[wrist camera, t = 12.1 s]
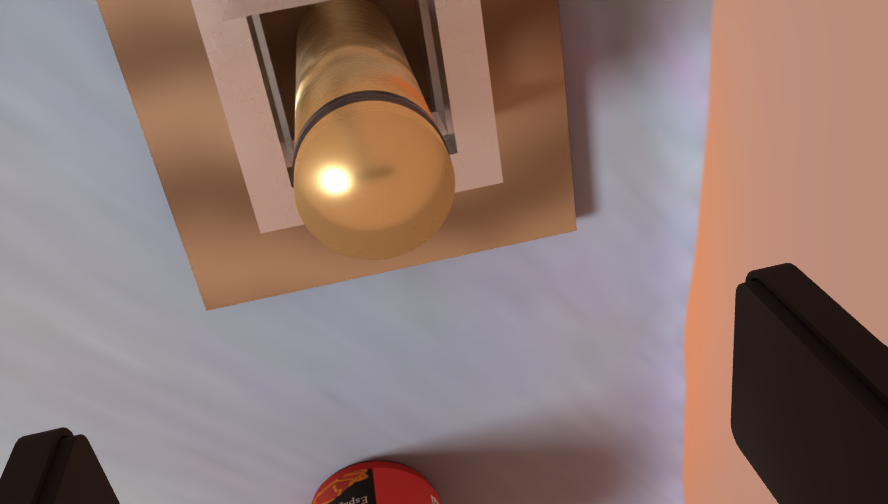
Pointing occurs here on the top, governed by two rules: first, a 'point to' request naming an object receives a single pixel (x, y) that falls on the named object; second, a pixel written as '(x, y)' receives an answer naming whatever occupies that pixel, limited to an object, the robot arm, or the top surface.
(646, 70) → the top surface
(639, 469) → the top surface
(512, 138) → the stand board
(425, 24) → the collar cage
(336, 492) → the canned food
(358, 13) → the brass tube
